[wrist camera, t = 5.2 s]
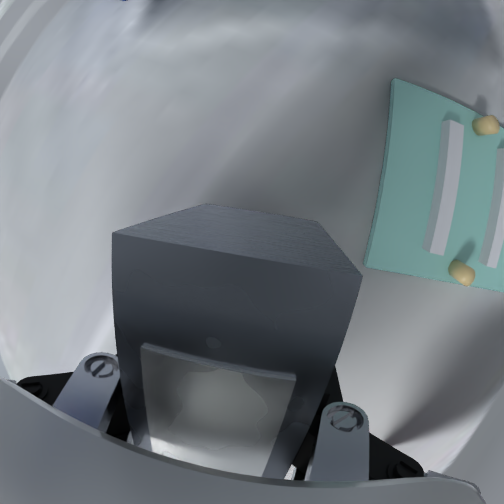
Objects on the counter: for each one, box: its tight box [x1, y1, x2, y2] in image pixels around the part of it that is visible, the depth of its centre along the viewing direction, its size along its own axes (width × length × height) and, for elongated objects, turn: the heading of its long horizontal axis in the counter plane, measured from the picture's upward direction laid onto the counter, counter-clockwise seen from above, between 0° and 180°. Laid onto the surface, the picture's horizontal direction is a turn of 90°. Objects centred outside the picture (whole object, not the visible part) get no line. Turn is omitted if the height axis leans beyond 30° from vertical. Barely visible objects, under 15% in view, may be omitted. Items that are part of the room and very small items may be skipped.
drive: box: [112, 204, 363, 479], centre depth 8 cm, size 10×4×6 cm, turn 172°
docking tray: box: [363, 78, 504, 292], centre depth 18 cm, size 16×18×4 cm
